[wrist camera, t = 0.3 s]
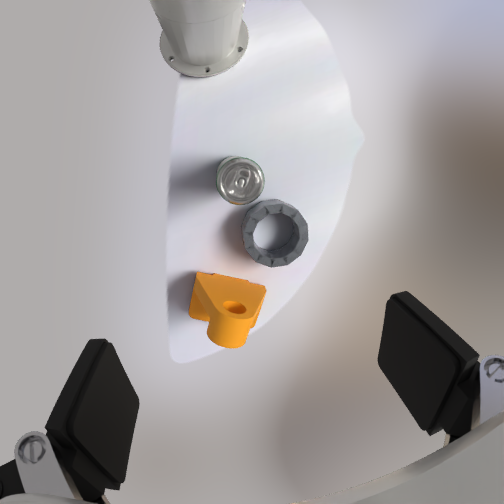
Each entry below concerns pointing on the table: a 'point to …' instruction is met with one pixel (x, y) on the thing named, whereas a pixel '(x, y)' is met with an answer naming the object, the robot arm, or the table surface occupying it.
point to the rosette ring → (287, 251)
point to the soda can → (239, 180)
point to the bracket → (226, 307)
